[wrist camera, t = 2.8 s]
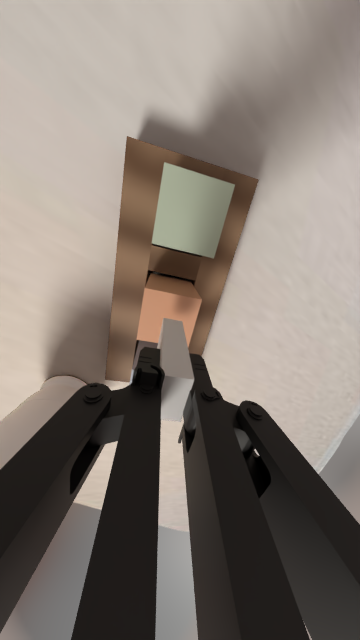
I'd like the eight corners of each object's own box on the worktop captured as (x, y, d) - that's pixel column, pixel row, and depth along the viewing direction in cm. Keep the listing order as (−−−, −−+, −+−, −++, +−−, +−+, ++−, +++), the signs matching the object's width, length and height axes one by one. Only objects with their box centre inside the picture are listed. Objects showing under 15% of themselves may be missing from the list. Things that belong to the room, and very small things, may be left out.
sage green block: (164, 190, 19) (164, 161, 12) (210, 204, 19) (235, 184, 13) (156, 242, 21) (151, 243, 14) (198, 252, 21) (213, 258, 15)
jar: (89, 421, 34) (38, 543, 20) (29, 406, 32) (-75, 533, 18) (108, 381, 31) (62, 495, 17) (43, 360, 28) (-73, 474, 14)
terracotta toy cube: (151, 272, 22) (144, 287, 15) (190, 281, 23) (202, 299, 16) (144, 310, 24) (136, 339, 17) (181, 317, 25) (188, 347, 18)
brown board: (132, 151, 19) (126, 136, 16) (246, 187, 21) (258, 179, 18) (110, 366, 30) (105, 379, 27) (187, 376, 32) (190, 389, 29)
